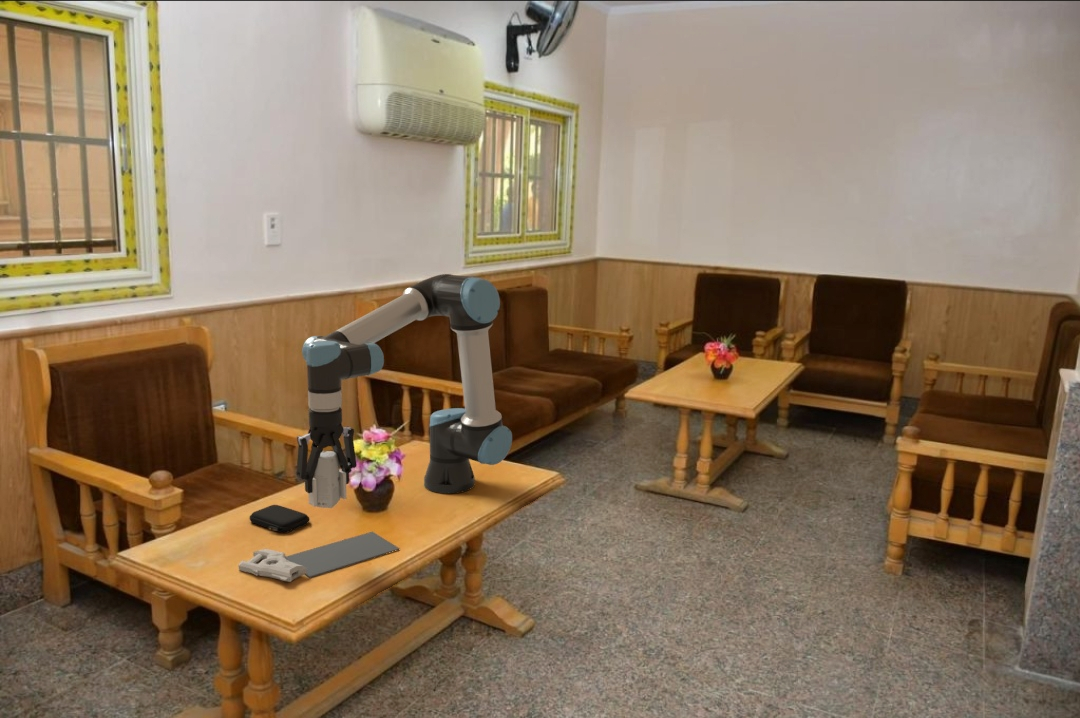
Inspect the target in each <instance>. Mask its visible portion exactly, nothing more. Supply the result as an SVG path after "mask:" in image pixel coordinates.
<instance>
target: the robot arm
mask: <svg viewBox="0 0 1080 718" xmlns="http://www.w3.org/2000/svg"><path fill="white" fill-rule="evenodd" d="M500 306H501V300H500V295H499V291H498V290H497V288H496V286H495V285H494V284H493V283H492V282H490V281H489V280H488V279H485V278H480V277H478V276H468V275H467V276H465V275H458V274H451V273H442V274H438V275H434V276H431V277H429V278H426V279H424V280H421V281H419V282H417V283H415V284H413V285H411V286H410V287H408V288H406V289H404V291H402V295H401V296H399V297H396V298H395V299H393V300H391V301H389V302H388V303H386V304H383V305H382V306H380V307H378V308H376V309H374V310H372V311H370V312H369V313H367V314H365V315H363V316H361V317H359V318H357V319H356V320H353V321H352V322H350V323H348V324H346V325H344V326H342V327H340V328H339V329H336V330H335V331H332V332H331V333H328V334H327V335H325V336H323V335H312V336H310V337H308V338H307V339H305V341H304V343H303V346H302V349H301V352H302V357H303V359H304V361H305V363H306V372H307V373H306V374H307V397H308V399H307V401H308V403H307V404H308V408H309V409H308V425H309V429H308V432H307V433H306V434H304V435H302V436H301V435H298V436H296V442H297V445H298V448H297V449H298V450H297V459H296V462H297V463H296V473H295V474H296V476H297V478H299V479H301V480H304V490H305V492H306V493H307V494H308V504H309V505H311V506H312V507H315V508H316V506H317V485H316V479H315V470H316V467H317V464H318V459H319V457H320V454H321V452H322V451H324V449H325V448H327V447H331V448H332V450H333V451H334V452H335V453H337V457H338V461H339V480H340V499H342V500H347V485H348V484H350V473H351V472H352V469H355V468H356V467H357V458H356V450H355V444H354V435H355V434H354V433H355V429H354V428H353V427H350V426H345V427H344V426H343V425H342V423H343V409H342V408H341V406H342V405H343V401H342V399H343V398H342V381H343V380H348V379H354V378H359V377H364V376H368V377H369V376H370V375H373V374H377V373H378V372H380V371H381V370H382V369H383V367H384V363H385V359H384V356H385V355H384V353H383V350H382V349H381V347H380V346H379V345H378V344H377V342H379V341H380V340H383V339H384V338H385V337H387V336H390V335H391V334H393V333H395V332H397V331H399V330H400V329H402V328H403V327H406V326H407V325H409V324H411V323H412V322H414V321H424V320H426V319H428V318H430V317H435V316H436V317H437V316H443V317H447V318H449V326H450V329H451V330H452V331H453V332H454V333H456V339H457V349H458V356H459V366H460V376H461V382H462V383H461V385H462V393H463V403H464V408H462V407H460V408H459V407H457V408H456V407H455V408H445V409H444V408H443V409H441V410H439V409H438V410H437V411H434V412H433V413H432V414H430V417H429V425H428V426H429V427H428V428H429V430H428V431H429V463H428V465H427V468H426V472H425V475H424V478H423V486H424V488H425V489H426V490H428V491H431V492H434V493H440V494H458V493H457V492H459V493H463V492H462V491H464V492H467V491H469V490H468V489H470V488H471V489H473V488H474V487H475V485H474V484H476V482H475V481H476V480H475V479H476V478H475V475H474V471H473V468H472V465H471V461H475V462H478V463H479V464H481V465H489V466H494V465H498V464H499V463H501V462H502V461H504V459H505V458H506V457H507V456H508V453H510V450H511V448H512V447H511V446H512V443H513V433H512V431H511V429H510V428H508V427H507V426H505V425H503V417H502V413H501V412H499V411H498V410H497V409H496V401H495V400H496V399H495V389H494V381H493V380H494V377H493V370H492V369H493V368H492V367H493V366H492V359H491V350H490V349H491V348H490V340H489V339H490V338H489V330H490V329H491V327H492V326H493V325H494V321H493V320H495V319H496V318H497V316H498V314H499V313H498V311H499V310H500ZM341 436H343V444H344V450H345V451H344V450H343V448H342V443H341V442H340V438H341ZM310 440H311V441H312V443H311V447H310V449H311V451H310V453H309V444H310ZM344 452H345V453H344ZM308 453H309V457H308ZM470 460H471V461H470ZM473 486H474V487H473ZM472 487H473V488H472ZM471 489H470V490H471ZM466 490H467V491H466Z"/></svg>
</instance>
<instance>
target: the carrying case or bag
mask: <svg viewBox="0 0 1080 718" xmlns="http://www.w3.org/2000/svg"><path fill="white" fill-rule="evenodd" d="M248 519H249V522H250V523H253V524H254V525H258V526H261V527H263V528H265V529H268V530H269V531H275V532H278V533H284V534H286V533H289V532H292V531H294V530H297V529H299V528H301V527H304V526H306V525H307V524H308V523H309V522H310V520H311V519H310V516H308V514H306V513H304V512H301V511H298V510H295V509H292V508H289V507H286V506H281V505H279V504H271V505H268V506H266V507H264V508H261V509H258V510H256V511H253V512H252V513H251V514H250V515H249V517H248Z"/></svg>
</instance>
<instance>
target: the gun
mask: <svg viewBox="0 0 1080 718" xmlns="http://www.w3.org/2000/svg"><path fill="white" fill-rule="evenodd" d="M286 556H287V555H286V553H285V552H281V551H277V550H272V549H270V548H269V549H268V548H264V549H259V550H256V551H253V552H252V558H250V559H249V560H247V561H246V560H241V561H240V562H239V564H238V570H239V571H241V572H245V573H249V574H253V575H255V576H257V577H258V576H260V577H263V578H264V577H268V578H272V579H277V580H280V581H283V582H288V583H292V581H293V580H296V579H297V578H299V577H301V576H303V575H304V576H305V574H306V573H307V568H306V567H304V566H301V565H298V564H295V563H293V562H290V561H289V560H287V559H286ZM260 560H261V561H260ZM259 561H260V562H259Z"/></svg>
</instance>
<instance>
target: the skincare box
mask: <svg viewBox="0 0 1080 718" xmlns="http://www.w3.org/2000/svg"><path fill="white" fill-rule="evenodd" d="M339 470H340V465H339V461H338V457H337V453H335V452H334V451H331V450H323V451H322V452H321V454H320V457H319V459H318V464H317V467H316V470H315V474H314V479H316V485H317V506H316V507H317V508H323V509H324V508H327V509H332V508H334V507H335V506H336V505H337V504H338V503H339V502H340V500H341V497H340V480H339ZM316 507H315V508H316Z"/></svg>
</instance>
